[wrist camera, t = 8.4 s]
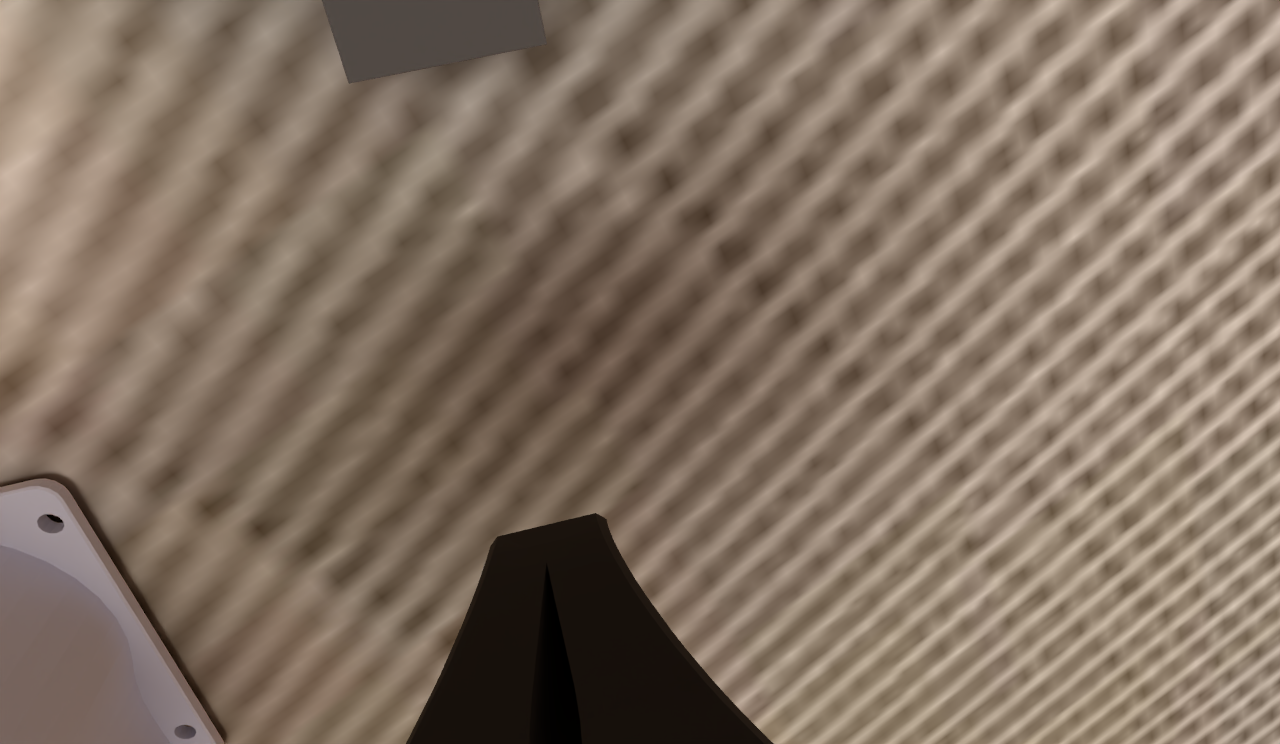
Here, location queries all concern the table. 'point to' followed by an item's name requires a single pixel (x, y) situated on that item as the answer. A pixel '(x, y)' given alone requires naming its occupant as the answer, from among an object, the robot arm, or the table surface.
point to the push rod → (428, 32)
